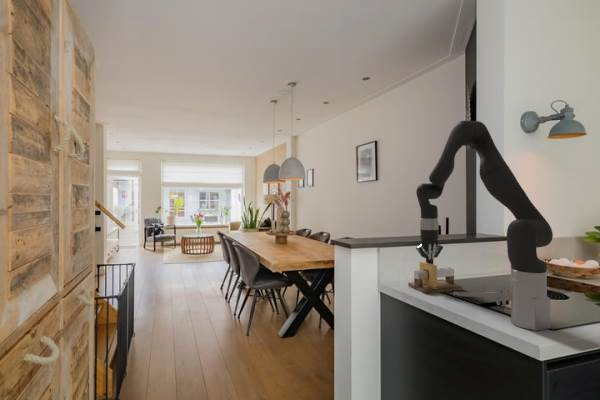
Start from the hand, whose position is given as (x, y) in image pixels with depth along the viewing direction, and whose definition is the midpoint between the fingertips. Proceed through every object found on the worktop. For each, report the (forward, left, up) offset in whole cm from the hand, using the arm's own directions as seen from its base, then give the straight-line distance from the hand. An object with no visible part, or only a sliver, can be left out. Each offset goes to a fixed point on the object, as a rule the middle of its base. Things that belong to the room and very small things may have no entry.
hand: (429, 267), depth 148 cm
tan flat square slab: (-3, +3, -7) cm, 8 cm away
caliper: (-22, -4, -9) cm, 24 cm away
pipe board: (-3, 0, -8) cm, 9 cm away
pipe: (-3, 0, -4) cm, 5 cm away
